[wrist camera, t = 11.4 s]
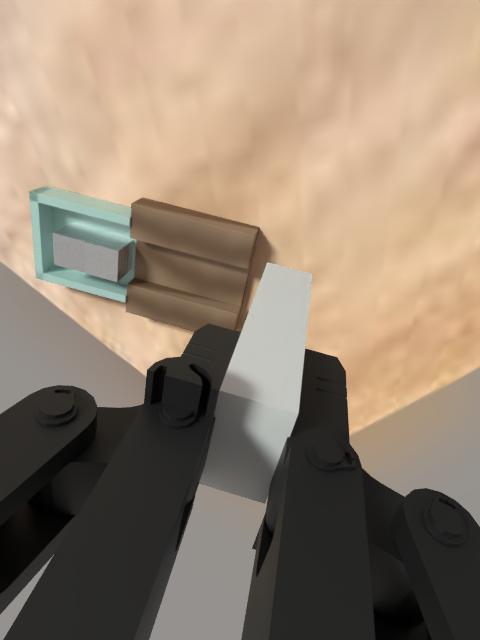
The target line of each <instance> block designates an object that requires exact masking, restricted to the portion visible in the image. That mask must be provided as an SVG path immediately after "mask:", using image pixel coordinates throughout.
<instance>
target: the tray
mask: <svg viewBox="0 0 480 640" xmlns="http://www.w3.org/2000/svg"><path fill="white" fill-rule="evenodd" d="M29 194H30V207H31V220H32V232H33V245H34V258H35V271H36V278H37V279H41V280H45V281H48V282H52V283H55V284H59V285H63V286H66V287H70V288H74V289H77V290H81V291H84V292H88V293H92V294H95V295H99V296H103V297H106V298H110V299H114V300H117V301H121V302H124V303H125V302H126V298H127V284H128V283H129V282H130V281H131V280H132V279H133V278H134V271H135V255H136V239H132V238H130V223H131V207H128V206H124V205H120V204H116V203H112V202H108V201H104V200H100V199H97V198H93V197H89V196H85V195H81V194H77V193H73V192H69V191H66V190H62V189H58V188H54V187H50V186H44V187H41V188H38V189H35V190H32V191H29ZM71 223H74V224H77V225H81V226H85V227H89V228H92V229H96V230H100V231H102V232H106V233H110V234H113V235H117V236H121V237H125V238H128V239H132V240H133V254H132V270H130V271H129V272H128V273H127V274H126V275H125V276H124V277H123V278H121V279H120V280H119V281H118V282H115V281H111V280H107V279H104V278H100V277H96V276H93V275H89V274H85V273H83V272H80V271H76V270H72V269H69V268H65V267H61V266H58V265H54V254H53V232H55V231H57V230H59V229H61V228H63V227H65V226H67V225H69V224H71Z"/></svg>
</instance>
